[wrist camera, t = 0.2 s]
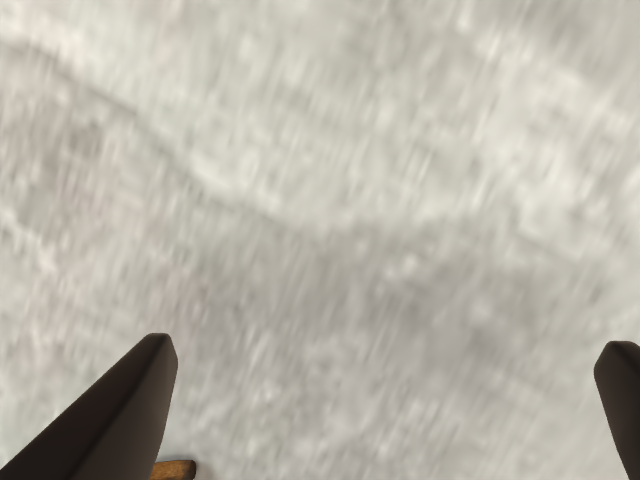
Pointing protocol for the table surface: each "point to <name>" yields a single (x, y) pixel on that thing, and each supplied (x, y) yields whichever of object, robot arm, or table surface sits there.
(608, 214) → the table surface
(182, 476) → the can opener
